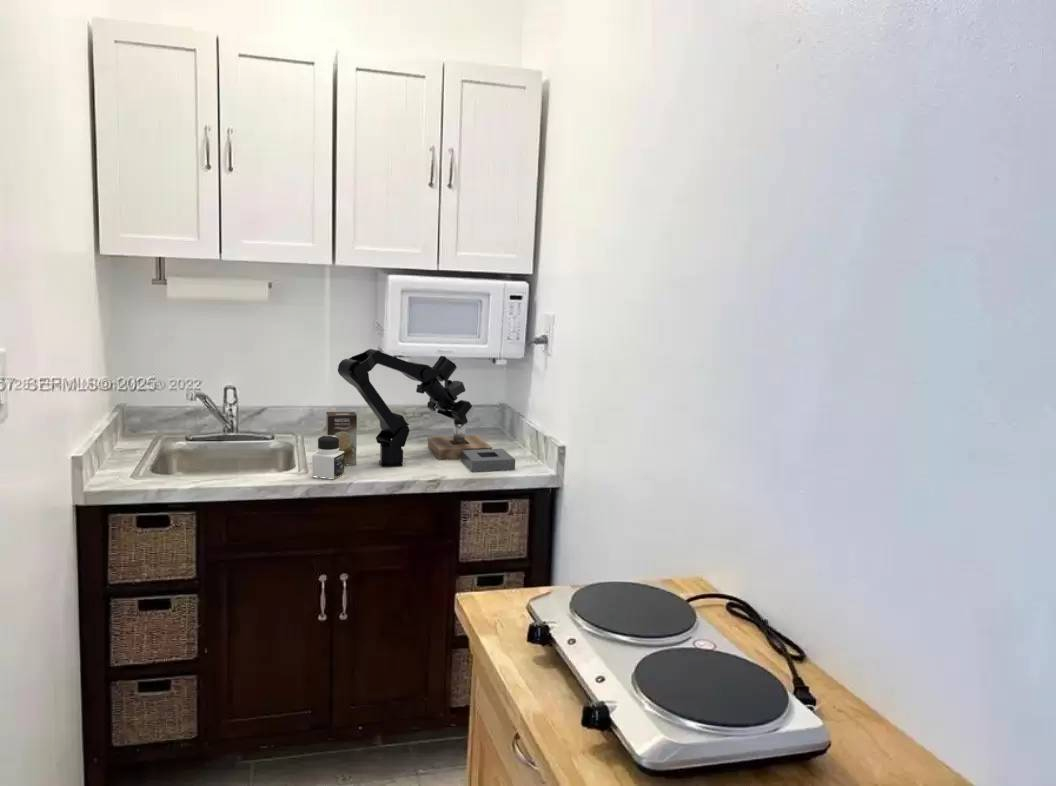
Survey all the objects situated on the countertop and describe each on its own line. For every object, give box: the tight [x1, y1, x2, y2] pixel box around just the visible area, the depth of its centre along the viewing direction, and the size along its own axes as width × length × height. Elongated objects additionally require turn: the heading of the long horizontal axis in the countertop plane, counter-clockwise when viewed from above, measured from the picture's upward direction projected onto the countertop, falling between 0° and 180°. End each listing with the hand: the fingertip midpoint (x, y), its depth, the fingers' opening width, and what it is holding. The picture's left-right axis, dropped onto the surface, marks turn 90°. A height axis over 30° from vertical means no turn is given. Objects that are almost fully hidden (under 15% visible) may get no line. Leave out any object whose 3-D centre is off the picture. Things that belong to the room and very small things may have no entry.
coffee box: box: [325, 411, 358, 466], centre depth 251 cm, size 9×6×16 cm
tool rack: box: [427, 434, 493, 461], centre depth 271 cm, size 18×18×4 cm
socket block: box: [460, 448, 516, 473], centre depth 256 cm, size 14×14×4 cm
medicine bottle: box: [311, 435, 346, 480], centre depth 236 cm, size 7×7×12 cm
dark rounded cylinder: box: [452, 419, 467, 442], centre depth 269 cm, size 4×4×13 cm
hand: (462, 421), depth 270 cm, fingers closed on dark rounded cylinder, 4 cm apart
